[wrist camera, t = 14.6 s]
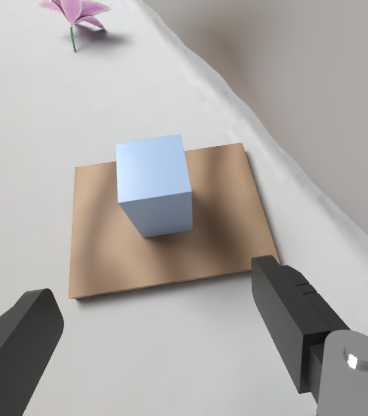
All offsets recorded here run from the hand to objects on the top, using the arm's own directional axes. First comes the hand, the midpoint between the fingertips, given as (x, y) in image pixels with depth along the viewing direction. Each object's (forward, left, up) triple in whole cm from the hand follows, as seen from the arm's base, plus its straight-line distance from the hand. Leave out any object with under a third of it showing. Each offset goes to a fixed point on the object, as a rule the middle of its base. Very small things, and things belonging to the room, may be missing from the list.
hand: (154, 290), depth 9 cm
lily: (+11, -49, -17) cm, 53 cm away
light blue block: (0, -10, -15) cm, 18 cm away
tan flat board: (0, -10, -16) cm, 19 cm away
